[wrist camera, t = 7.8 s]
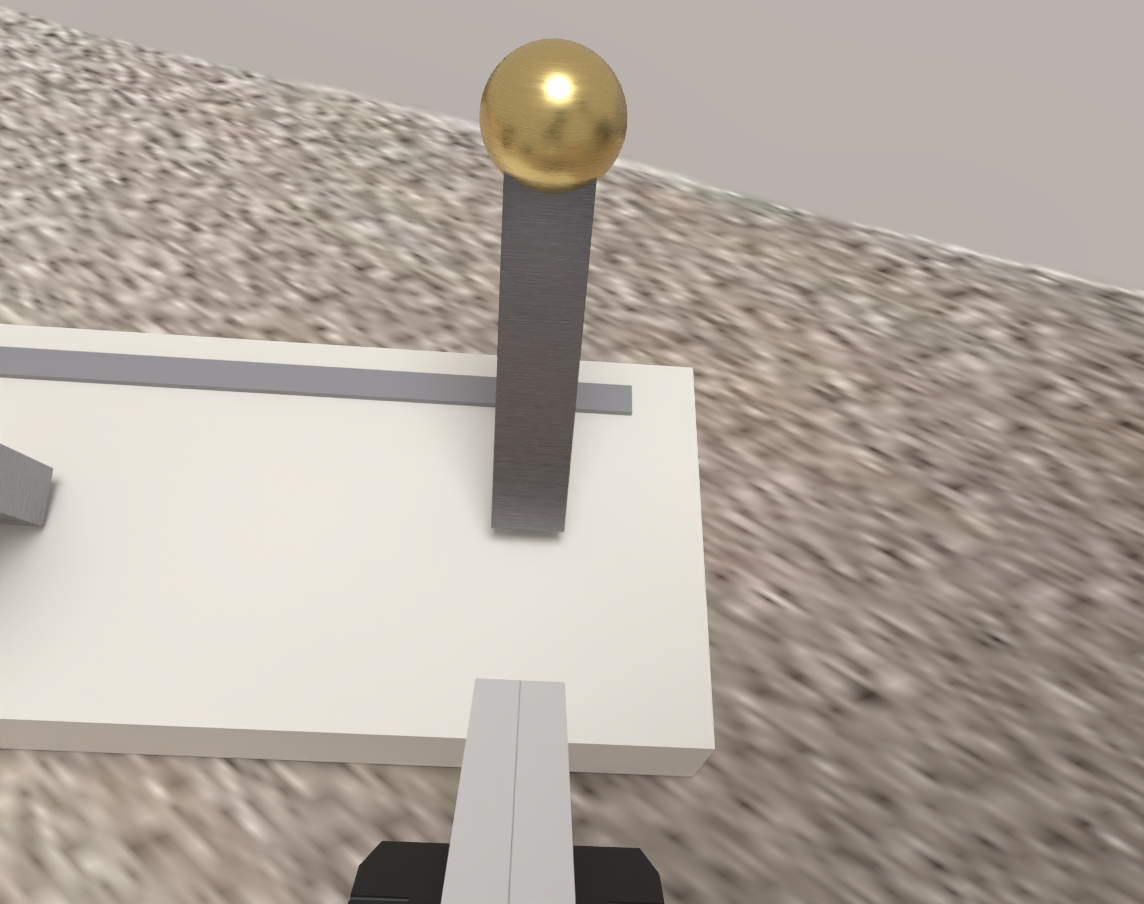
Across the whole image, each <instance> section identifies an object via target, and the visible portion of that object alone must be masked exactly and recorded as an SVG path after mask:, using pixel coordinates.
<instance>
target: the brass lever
mask: <svg viewBox="0 0 1144 904" xmlns="http://www.w3.org/2000/svg"><path fill="white" fill-rule="evenodd" d="M480 129H481V135H482V139H483V142H484V145H485V147H486V150H487V152H488V154H489V156H490V158H491V160H492V161H493V163H494V164H495V166H496V167H497V168H498V169H499V170H500V172H501V173H502V174H503V175H504V183H503V211H502V239H501V266H500V294H499V321H498V349H497V377H496V404H495V432H494V459H493V487H492V515H491V528H503V529H521V530H540V531H558V532H564V529H565V518H566V507H567V496H568V486H569V475H570V464H571V453H572V442H573V431H574V420H575V409H576V398H577V387H578V376H579V366H580V355H581V344H582V333H583V322H584V311H585V300H586V289H587V278H588V267H589V256H590V246H591V235H592V224H593V213H594V202H595V191H596V181H598V180H599V179H600V178H601V177H602V176H603V175H604V174H605V173H606V172H607V171H608V170H609V169H610V168H611V166H612V165H613V163H614V162H615V160H616V159H617V157H618V155H619V153H620V151H621V148H622V146H623V142H624V140H625V136H626V130H627V106H626V100H625V96H624V93H623V90H622V87H621V85H620V83H619V81H618V79H617V77H616V75H615V73H614V72H613V70H612V69H611V68H610V66H609V65H608V64H607V63H606V62H605V61H604V60H603V59H602V58H601V57H600V56H599V55H598V54H596V53H595V52H594V51H592V50H590V49H589V48H587V47H585V46H583V45H581V44H578V43H576V42H573V41H569V40H564V39H542V40H537V41H533V42H530V43H528V44H525V45H523V46H521V47H519V48H517V49H516V50H514V51H512V52H511V53H510V54H509V55H507V56H506V57H505V58H504V59H503V60H502V61H501V62H500V63H499V64H498V65H497V67H496V68H495V70H494V71H493V72H492V74H491V76H490V78H489V79H488V81H487V84H486V86H485V89H484V92H483V94H482V99H481V104H480Z"/></svg>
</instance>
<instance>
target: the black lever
mask: <svg viewBox="0 0 1144 904" xmlns="http://www.w3.org/2000/svg"><path fill="white" fill-rule="evenodd" d="M52 473H53V468H52V467H49V466H47V465H45V464H43V463H41V462H39V461H37V460H35V459H32V458H30V457H28V456H26V455H24V454H22V453H20V452H17V451H15V450H13V449H11V448H9V447H7V446H5V445H3V444H0V524H8V525H27V526H43V522H44V517H45V511H46V506H47V500H48V495H49V490H50V484H51V479H52Z"/></svg>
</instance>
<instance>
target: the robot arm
mask: <svg viewBox="0 0 1144 904" xmlns="http://www.w3.org/2000/svg"><path fill="white" fill-rule="evenodd" d="M348 904H664V898H663V893H662V887H661V881H660V876H659V873H658V872H657V871H656V869H655V868H654V867H653V865H652V864H651V863H650V861H649V860H648V859H647V857H646V856H645V855H644V853H643V852H642V851H641V849H640V848H619V847H593V846H573V841H572V819H571V798H570V777H569V756H568V735H567V714H566V693H565V682H547V681H525V680H504V679H482V678H475V685H474V691H473V698H472V704H471V711H470V717H469V724H468V730H467V737H466V743H465V750H464V756H463V763H462V769H461V776H460V782H459V789H458V795H457V802H456V808H455V815H454V821H453V828H452V834H451V841H450V844H445V843H419V842H393V841H382V842H381V843H380V844H379V845H378V846H377V847H376V848H375V849H374V850H373V851H372V852H371V853H370V855H369V856H368V857H367V858H366V859H365V860H364V861H363V862H362V863H361V864H360V865H359V868H358V871H357V875H356V878H355V882H354V885H353V889H352V892H351V897H350V901H349V902H348Z"/></svg>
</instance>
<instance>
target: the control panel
mask: <svg viewBox="0 0 1144 904" xmlns="http://www.w3.org/2000/svg"><path fill="white" fill-rule="evenodd" d="M496 377H497V355H483V354H467V353H451V352H435V351H419V350H404V349H388V348H372V347H356V346H340V345H325V344H309V343H293V342H277V341H262V340H246V339H230V338H214V337H198V336H183V335H167V334H151V333H135V332H119V331H104V330H88V329H72V328H56V327H40V326H25V325H9V324H0V444H3V445H5V446H7V447H9V448H11V449H13V450H15V451H17V452H20V453H22V454H24V455H26V456H28V457H30V458H32V459H35V460H37V461H39V462H41V463H43V464H45V465H47V466H49V467H52V468H53V473H52V479H51V484H50V490H49V495H48V500H47V506H46V511H45V517H44V522H43V526H27V525H8V524H0V749H25V750H49V751H74V752H98V753H123V754H147V755H171V756H196V757H220V758H245V759H269V760H294V761H318V762H343V763H367V764H392V765H416V766H441V767H462V763H463V756H464V750H465V743H466V737H467V730H468V724H469V717H470V711H471V704H472V698H473V691H474V685H475V678H482V679H504V680H525V681H547V682H565V693H566V714H567V735H568V756H569V772H588V773H612V774H637V775H661V776H686V777H693V776H694V775H695V774H696V772H697V771H698V770H699V769H700V767H701V766H702V765H703V764H704V762H705V761H706V760H707V758H708V757H709V756H710V755H711V753H712V752H713V751H714V750H715V741H714V724H713V707H712V690H711V673H710V656H709V638H708V621H707V604H706V587H705V570H704V552H703V535H702V518H701V501H700V484H699V466H698V449H697V432H696V415H695V398H694V380H693V368H688V367H672V366H656V365H641V364H625V363H609V362H593V361H580V366H579V376H578V387H577V398H576V409H575V420H574V431H573V442H572V453H571V464H570V475H569V486H568V496H567V507H566V518H565V529H564V532H558V531H540V530H521V529H503V528H491V515H492V487H493V459H494V432H495V404H496Z"/></svg>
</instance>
